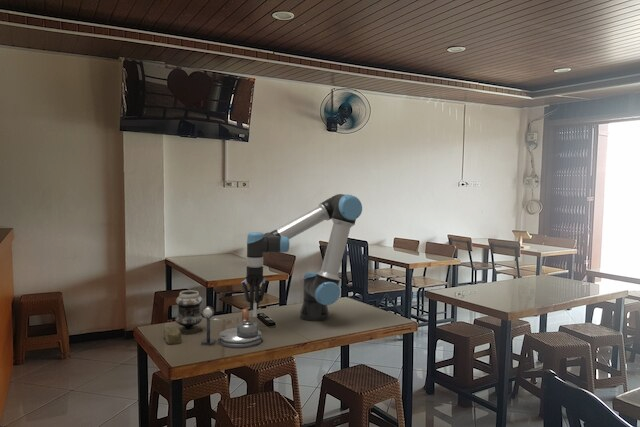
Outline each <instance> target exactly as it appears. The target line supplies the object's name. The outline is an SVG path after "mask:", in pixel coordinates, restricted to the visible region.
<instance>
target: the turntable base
mask: <svg viewBox="0 0 640 427" xmlns="http://www.w3.org/2000/svg"><path fill="white" fill-rule="evenodd" d="M217 342H218V344H219V345H220V346H222V347H225V348H230V349H246V348H251V347H256V346H259V345H260V344H261V343H263V334H261V338H260V339H258V340H256V341H253V342H248V343H228V342H224V341H222V340H220V338H219V336H218V337H217Z"/></svg>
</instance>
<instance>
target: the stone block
mask: <svg viewBox="0 0 640 427" xmlns="http://www.w3.org/2000/svg"><path fill="white" fill-rule="evenodd" d="M179 329H180V328H179V327H178V326H166V327H164V328H163V331H164V332H163V336H164V339H165V342H167V344H168V345H176V343H178V344H181V343H182V333H181V332H180V331H179Z"/></svg>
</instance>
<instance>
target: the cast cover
mask: <svg viewBox="0 0 640 427" xmlns="http://www.w3.org/2000/svg"><path fill="white" fill-rule="evenodd" d="M236 328H237V337H239V338H243V339H250V338H255V337H257V336H258V330H259V322H257V321H254V320H249V321H242V320H241V321H239V322H237V323H236Z"/></svg>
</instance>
